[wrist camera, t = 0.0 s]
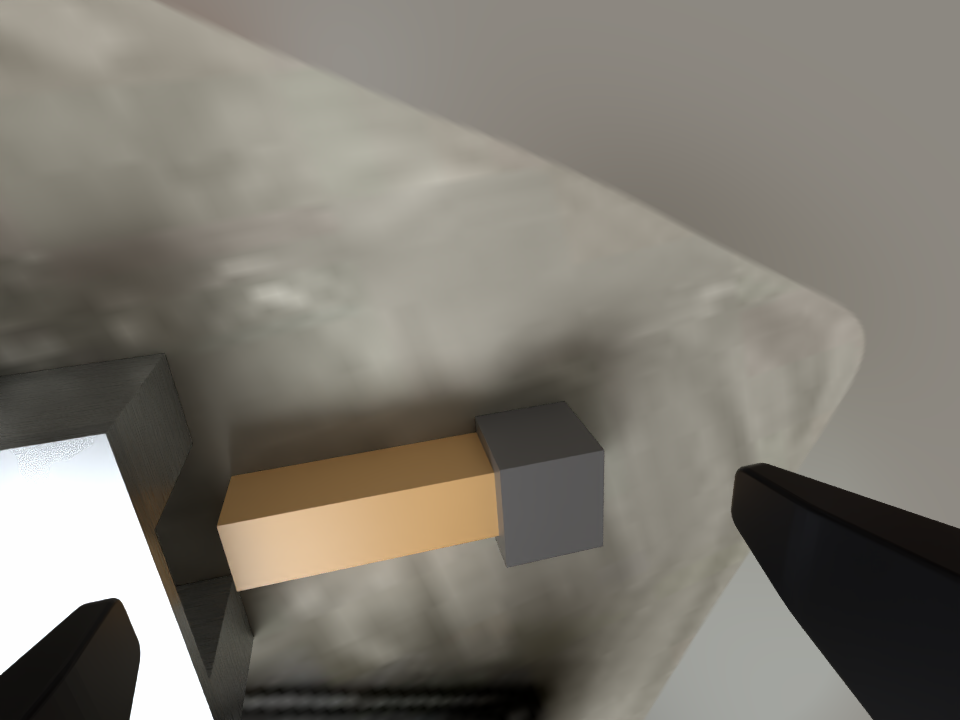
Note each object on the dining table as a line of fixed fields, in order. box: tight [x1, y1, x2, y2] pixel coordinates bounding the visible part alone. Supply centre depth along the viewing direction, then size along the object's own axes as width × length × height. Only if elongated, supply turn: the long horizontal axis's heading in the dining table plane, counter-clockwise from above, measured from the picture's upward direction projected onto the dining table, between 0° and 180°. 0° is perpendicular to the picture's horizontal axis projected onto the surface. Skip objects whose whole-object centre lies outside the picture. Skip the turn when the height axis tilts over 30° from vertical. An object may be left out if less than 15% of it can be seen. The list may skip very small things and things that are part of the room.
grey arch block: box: [0, 353, 254, 720], centre depth 20 cm, size 14×7×6 cm, turn 4°
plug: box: [217, 401, 604, 592], centre depth 23 cm, size 4×14×4 cm, turn 94°
